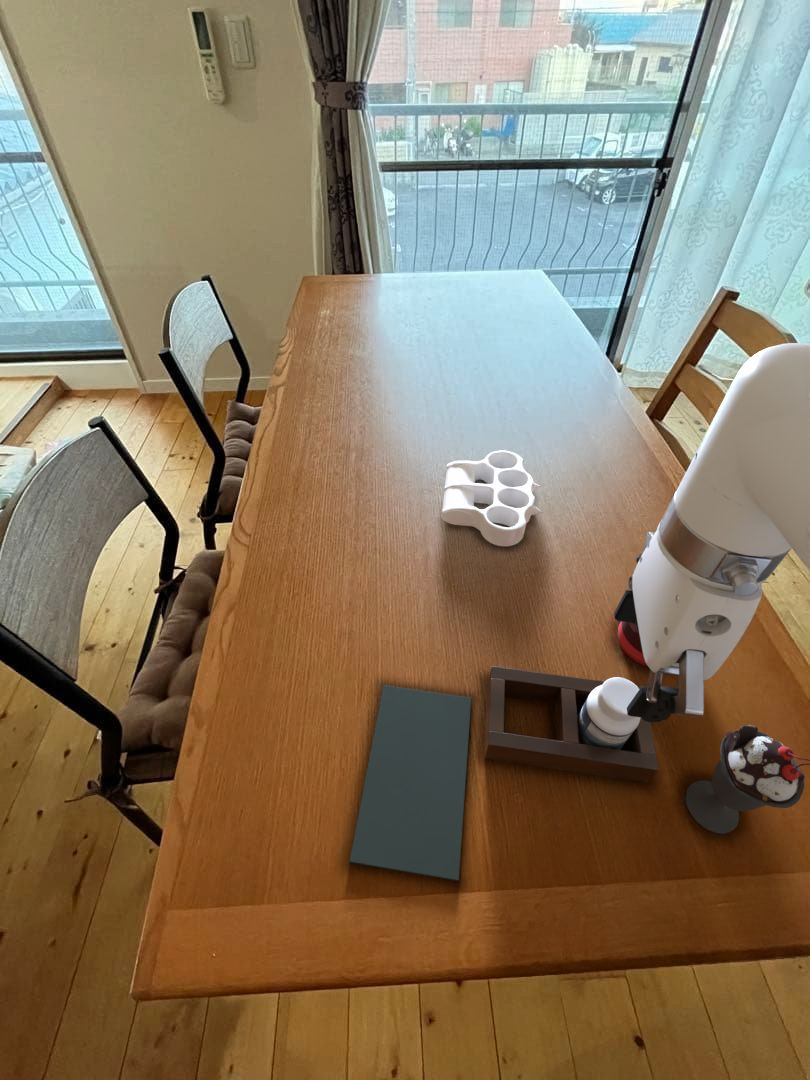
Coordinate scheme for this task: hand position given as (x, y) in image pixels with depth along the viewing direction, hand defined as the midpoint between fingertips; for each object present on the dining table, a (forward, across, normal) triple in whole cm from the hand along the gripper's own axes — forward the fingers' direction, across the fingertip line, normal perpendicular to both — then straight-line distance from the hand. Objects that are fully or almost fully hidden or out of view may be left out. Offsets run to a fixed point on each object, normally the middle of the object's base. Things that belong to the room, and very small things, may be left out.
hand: (637, 664), depth 50 cm
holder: (+14, 0, +4) cm, 14 cm away
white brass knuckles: (+14, +35, +12) cm, 40 cm away
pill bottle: (+14, 0, 0) cm, 14 cm away
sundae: (+14, -6, -11) cm, 19 cm away
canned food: (+14, +13, -8) cm, 20 cm away
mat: (+14, -7, +18) cm, 24 cm away
